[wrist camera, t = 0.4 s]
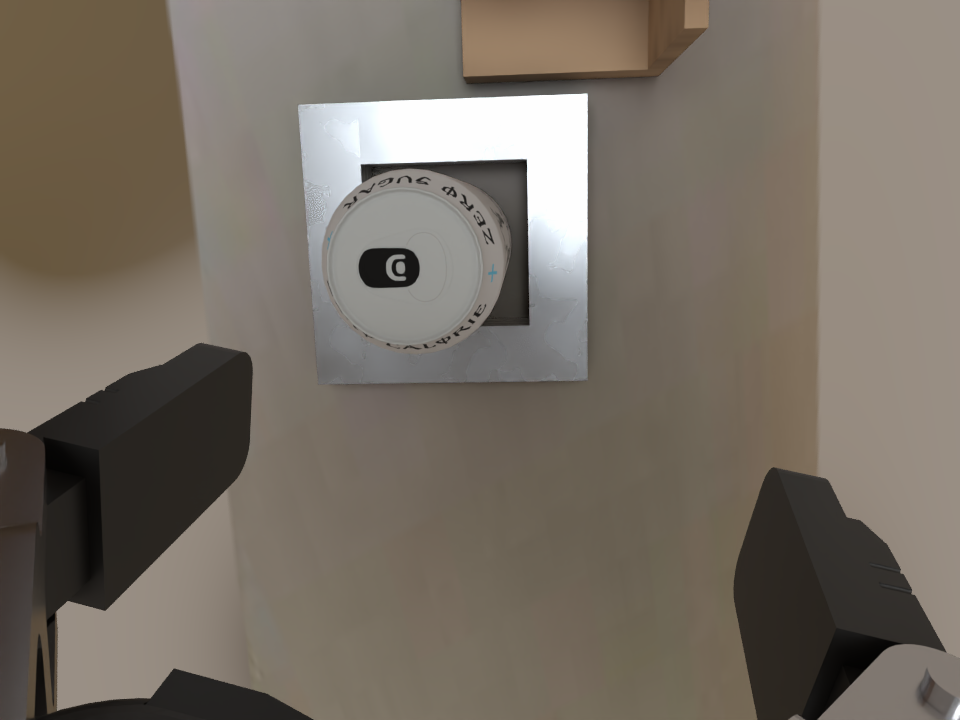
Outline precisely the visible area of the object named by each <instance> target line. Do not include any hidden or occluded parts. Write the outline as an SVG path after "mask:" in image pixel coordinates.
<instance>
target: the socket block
mask: <svg viewBox="0 0 960 720" xmlns="http://www.w3.org/2000/svg"><path fill="white" fill-rule="evenodd" d="M298 111H299V125H300V138H301V152H302V166H303V180H304V194H305V207H306V221H307V235H308V249H309V263H310V277H311V290H312V304H313V318H314V332H315V346H316V360H317V373H318V384H381V383H451V382H521V381H587V94H567V95H541V96H515V97H488V98H462V99H436V100H409V101H383V102H357V103H330V104H304V105H298ZM508 162H527V194H528V258H529V318H492V319H485V321H484V322H483V323H482V324H481V326H480V327H479V328H478V329H477V330H475V331H474V332H473V333H472V334H471V335H470V336H468V337H467V338H466V339H464V340H462V341H461V342H459V343H457V344H455V345H453V346H452V347H449V348H446V349H443V350H440V351H437V352H433V353H424V354H406V353H397V352H394V351H390V350H387V349H383V348H381V347H379V346H377V345H375V344H373V343H371V342H369V341H367V340H365V339H364V338H362V337H361V336H360V335H359V334H357V333H356V332H355V331H353V330H352V329H351V328H350V327H349V326H348V324H347V323H346V322H345V321H344V320H343V319H342V318H341V317H340V315H339V314H338V312H337V310H336V309H335V307H334V305H333V304H332V302H331V300H330V298H329V295H328V292H327V289H326V287H325V284H324V278H323V272H322V266H321V262H322V245H323V241H324V236H325V232H326V229H327V226H328V224H329V222H330V220H331V218H332V215H333V213H334V212H335V210H336V209H337V208H338V206H339V205H340V203H341V202H342V201H343V199H344V198H345V197H346V196H347V195H348V194H350V193H351V192H352V191H353V190H354V189H355V188H356V187H357V186H359V185H360V184H362V183H364V182H365V181H367V180H369V179H370V178H372V169H371V167H385V166H415V165H446V164H477V163H508Z"/></svg>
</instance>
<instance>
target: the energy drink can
mask: <svg viewBox="0 0 960 720" xmlns="http://www.w3.org/2000/svg"><path fill="white" fill-rule="evenodd" d="M511 248H512V240H511V231H510V228H509V224H508V221H507V218H506V217H505V215H504V213H503V211H502V209H501V208H500V206H499V205H498V204H497V203H496V202H495V200H494V199H493V198H492V197H490V196H489V195H488V194H487V193H485V192H484V191H483V190H481V189H479V188H477V187H475V186H473V185H471V184H468V183H466V182H463V181H460V180H457V179H455V178H452V177H449V176H446V175H443V174H440V173H436V172H433V171H429V170H422V169H409V168H408V169H401V170H393V171H389V172H386V173H383V174H380V175H377V176H374V177H372V178H370V179H369V180H367V181H365V182H364V183H362V184H360V185H359V186H357V187H356V188H355V189H354V190H353V191H352V192H351V193H350V194H348V195H347V196H346V197H345V198H344V199H343V201H342V202H341V203H340V205H339V206H338V208H337V209H336V210H335V212H334V213H333V215H332V218H331V220H330V222H329V224H328V226H327V229H326V232H325V236H324V241H323V245H322V262H321V266H322V272H323V278H324V284H325V287H326V289H327V292H328V295H329V298H330V300H331V302H332V304H333V305H334V307H335V309H336V310H337V312H338V314H339V315H340V317H341V318H342V319H343V320H344V321H345V322H346V323H347V324H348V326H349V327H350V328H351V329H352V330H353V331H355V332H356V333H357V334H359V335H360V336H361V337H362V338H364V339H365V340H367V341H369V342H371V343H373V344H375V345H377V346H379V347H381V348H383V349H387V350H390V351H394V352H397V353H406V354H424V353H433V352H437V351H440V350H443V349H446V348H449V347H452V346H453V345H455V344H457V343H459V342H461V341H462V340H464V339H466V338H467V337H468V336H470V335H471V334H472V333H473V332H474V331H475V330H477V329H478V328H479V327H480V326H481V324H482V323H483V322H484V321H485V319H486V318H487V317H488V316H489V314H490V313H491V311H492V309H493V307H494V305H495V303H496V301H497V299H498V297H499V294H500V291H501V287H502V284H503V281H504V277H505V274H506V271H507V267H508V264H509V260H510V257H511Z"/></svg>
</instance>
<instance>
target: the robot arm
mask: <svg viewBox="0 0 960 720" xmlns="http://www.w3.org/2000/svg"><path fill="white" fill-rule="evenodd" d="M252 375H253V367H252V361H251V358H250V356H249V355H248V354H247V353H246V352H241V351H237V350H232V349H227V348H223V347H218V346H213V345H209V344H204V343H199V344H196V345H195V346H193V347H191V348H190V349H188V350H186V351H185V352H183V353H181V354H180V355H178V356H176V357H175V358H173V359H171V360H170V361H168V362H166V363H165V364H163V365H159V366H155V367H152V368H148V369H144V370H141V371H137V372H134V373H130V374H128V375H126V376H124V377H122V378H121V379H119V380H117V381H116V382H114V383H112V384H111V385H109V386H107V387H106V389H105V391H103V390H100V391H98V392H97V393H95V394H93V395H91V396H90V397H88V398H86V401H85V402H79V403H78V404H76V405H74V406H73V407H71V408H69V409H67V410H65V411H64V412H62V413H61V414H59V415H57V416H55V417H53V418H52V419H50V420H48V421H46V422H45V423H43V424H41V425H40V426H38V427H36V428H34V429H33V430H31V431H29V432H27V433H26V432H23V431H18V430H12V429H2V428H0V720H313V719H311V718H310V717H308V716H306V715H304V714H302V713H301V712H299V711H297V710H295V709H293V708H292V707H290V706H288V705H286V704H284V703H283V702H281V701H279V700H277V699H275V698H274V697H272V696H270V695H268V694H266V693H262V692H258V691H255V690H251V689H247V688H243V687H240V686H236V685H233V684H228V683H225V682H221V681H218V680H214V679H210V678H207V677H203V676H200V675H196V674H192V673H188V672H185V671H181V670H177V669H173V670H172V672H171V673H170V674H169V676H168V677H167V678H166V679H165V681H164V682H163V683H162V685H161V686H160V687H159V688H158V690H157V691H156V692H155V694H154V695H153V696H152V697H151V699H147V698H135V699H118V700H108V701H101V702H95V703H88V704H84V705H80V706H76V707H71V708H66V709H62V710H59V711H57V657H58V655H57V654H58V627H57V613H56V611H57V610H58V609H59V608H60V607H62V606H63V605H64V604H65V603H66V602H67V601H71V602H74V603H78V604H82V605H86V606H89V607H93V608H97V609H101V610H104V611H105V610H107V609H108V608H109V607H110V605H112V604H113V603H114V602H115V600H116V599H117V598H119V597H120V595H121V594H122V593H124V592H125V591H126V590H127V588H129V586H131V584H133V582H134V581H135V580H136V579H137V578H138V577H139V576H140V575H141V574H142V573H143V572H144V571H145V570H146V569H147V568H148V567H149V566H150V565H151V564H152V563H153V562H154V561H155V560H156V559H157V558H158V557H159V556H160V555H161V554H162V553H163V552H164V551H165V550H166V549H167V548H168V547H169V546H170V545H171V544H172V543H173V542H174V541H175V540H176V539H177V538H178V537H179V536H180V535H181V534H182V533H183V532H184V531H185V530H186V529H187V528H188V527H189V526H190V525H191V524H192V523H193V522H194V521H195V520H196V519H197V518H198V517H199V516H200V515H201V514H202V513H203V512H204V511H205V510H206V509H207V508H208V507H209V506H210V505H211V504H212V503H213V502H214V501H215V500H216V499H217V498H218V497H219V496H220V495H221V494H222V493H223V492H224V491H225V490H226V489H227V488H228V487H229V486H230V485H231V484H232V483H233V482H234V481H235V480H236V479H237V477H238V476H239V474H240V473H241V471H242V469H243V467H244V464H245V461H246V458H247V455H248V450H249V443H250V423H251V399H252ZM900 570H901V569H900V567H899V565H898V563H897V562H896V560H895V558H894V556H893V554H892V552H891V551H890V549H889V547H888V545H887V544H886V543H884V542H883V540H881V539H880V538H879V537H878V536H877V535H876V534H875V533H874V532H872V531H871V530H870V529H869V528H868V527H867V526H866V525H865V524H864V523H863V522H861V521H860V520H856V519H852V518H847V517H846V515H845V513H844V511H843V509H842V507H841V505H840V503H839V501H838V499H837V497H836V495H835V493H834V491H833V489H832V487H831V485H830V483H829V481H828V480H827V479H825V478H820V477H816V476H811V475H806V474H802V473H797V472H792V471H788V470H783V469H779V468H774V467H773V468H771V469H770V470H769V471H768V473H767V475H766V476H765V479H764V481H763V484H762V487H761V490H760V493H759V496H758V499H757V502H756V505H755V508H754V511H753V514H752V517H751V520H750V523H749V526H748V529H747V533H746V536H745V539H744V542H743V545H742V548H741V551H740V554H739V557H738V561H737V565H736V570H735V577H734V602H735V607H736V613H737V618H738V623H739V628H740V633H741V638H742V643H743V648H744V653H745V658H746V663H747V668H748V674H749V679H750V684H751V689H752V694H753V699H754V704H755V709H756V714H757V719H758V720H960V658H958V657H956V656H953V655H951V654H948V653H947V652H946V651H945V649H944V647H943V645H942V643H941V641H940V639H939V638H938V636H937V634H936V632H935V630H934V629H933V627H932V625H931V623H930V621H929V620H928V618H927V616H926V614H925V612H924V611H923V609H922V607H921V605H920V603H919V601H918V600H917V598H916V596H915V595H912V594H911V593H912V589H911V587H910V585H909V583H908V581H907V580H906V578H905V576H904V574H900Z"/></svg>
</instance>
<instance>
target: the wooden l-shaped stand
mask: <svg viewBox="0 0 960 720" xmlns="http://www.w3.org/2000/svg"><path fill="white" fill-rule="evenodd" d="M461 16H462V48H463V77H464V79H465V81H466V83H467V84H469V83H494V82H520V81H545V80H571V79H596V78H622V77H647V76H659V75H660V74H661V73H662V72H663V71H664V70H665V69H666V68H667V67H668V66H669V65H670V64H671V63H672V62H673V61H674V60H675V59H676V58H677V57H679V56H680V55H681V54H682V53H683V52H684V51H685V50H686V49H687V48H688V47H689V46H690V45H691V44H692V43H693V42H694V41H695V40H696V39H697V38H698V37H699V36H700V35H701V34H702V33H703V32H704V31H705V30H706V29H707V28H708V21H709V0H461Z"/></svg>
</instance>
